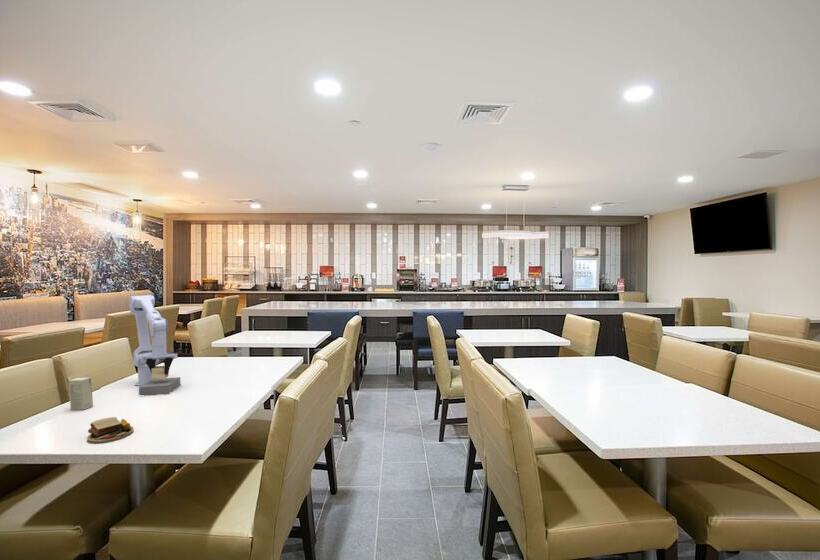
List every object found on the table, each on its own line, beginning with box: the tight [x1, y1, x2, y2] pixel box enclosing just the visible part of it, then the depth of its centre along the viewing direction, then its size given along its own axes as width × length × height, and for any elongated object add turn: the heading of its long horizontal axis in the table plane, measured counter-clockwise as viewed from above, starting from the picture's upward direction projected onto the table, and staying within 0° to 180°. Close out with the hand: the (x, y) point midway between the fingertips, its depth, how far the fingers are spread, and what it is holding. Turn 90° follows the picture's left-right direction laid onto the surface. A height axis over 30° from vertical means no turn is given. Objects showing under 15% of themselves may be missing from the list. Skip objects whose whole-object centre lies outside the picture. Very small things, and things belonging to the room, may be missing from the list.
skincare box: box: [68, 377, 94, 411], centre depth 161 cm, size 6×4×12 cm
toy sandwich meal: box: [86, 416, 134, 444], centre depth 134 cm, size 12×14×5 cm
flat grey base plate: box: [138, 376, 181, 396], centre depth 184 cm, size 14×12×4 cm
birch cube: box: [152, 365, 169, 380], centre depth 184 cm, size 5×5×5 cm
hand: (160, 374), depth 184 cm, fingers closed on birch cube, 5 cm apart
